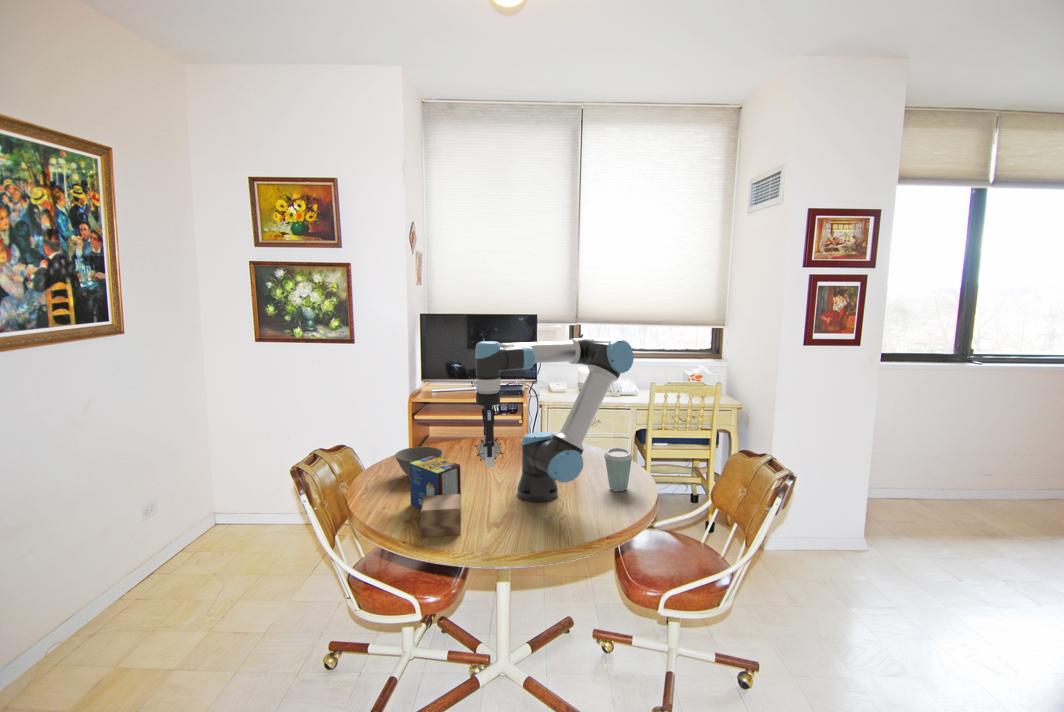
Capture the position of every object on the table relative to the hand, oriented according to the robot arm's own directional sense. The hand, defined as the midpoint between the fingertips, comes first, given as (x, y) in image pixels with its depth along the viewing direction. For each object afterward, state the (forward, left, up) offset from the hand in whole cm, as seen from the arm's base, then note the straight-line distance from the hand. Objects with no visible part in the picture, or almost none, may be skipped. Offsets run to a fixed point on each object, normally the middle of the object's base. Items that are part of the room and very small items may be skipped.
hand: (488, 460), depth 157 cm
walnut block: (+15, -1, -21) cm, 26 cm away
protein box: (+18, -17, -22) cm, 33 cm away
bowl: (+26, -46, -22) cm, 57 cm away
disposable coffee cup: (-50, -24, -22) cm, 59 cm away
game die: (0, 0, 0) cm, 1 cm away
